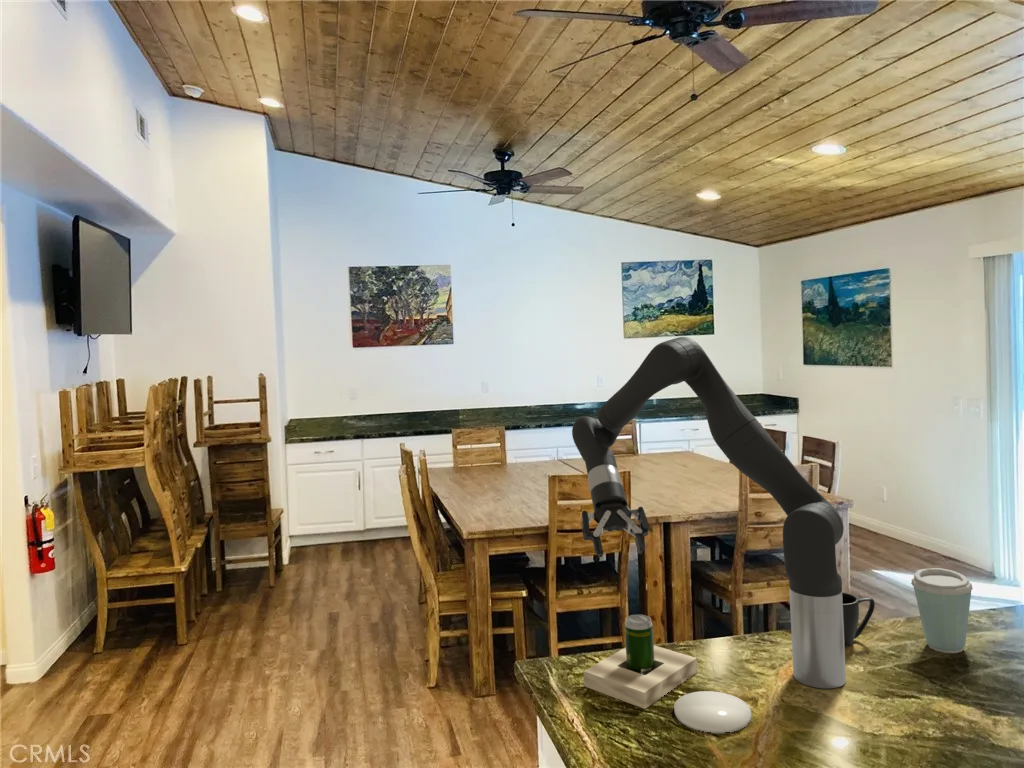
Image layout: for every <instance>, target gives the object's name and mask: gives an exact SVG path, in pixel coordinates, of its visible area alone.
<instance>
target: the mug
mask: <svg viewBox="0 0 1024 768" xmlns="http://www.w3.org/2000/svg"><path fill="white" fill-rule="evenodd" d="M842 599H843V621H844V646H845V647H850V646H853V644H854V640H855V639H857V638H859V636H860V635H861V634H862V632H863V631H864V629H865V628H866V627H867V624H868V622H869V621H870V619H871V617H872V615H873V613H874V610H875V606H876V605H875V600H874V599H873V597H872V598H871V597H869V596H867V597H866V596H863V597H859V598H858V597H857V596H856V595H854V594H851V593H848V592H844V591H842ZM866 601H867V602H868V601H869V606H868V609H867V611H866V614H865V615H864V617H863V620H862V622H861V623H860V624H859V619H860V603H862V602H866ZM858 625H859V626H858Z"/></svg>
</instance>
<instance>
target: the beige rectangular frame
mask: <svg viewBox="0 0 1024 768" xmlns="http://www.w3.org/2000/svg"><path fill="white" fill-rule="evenodd" d="M697 658H698V657H694V656H691V655H688V654H684V653H680V652H678V651H674V650H672V649H667V648H664V647H661V646H657V645H654V661H655V669H654V670H653V671H651V672H650V673H648V674H647V675H643V674H640V673H637V672H634V671H631V670H628V669H627V659H626V646H625V647H624V648H622V649H621V650H618V651H617V652H615V653H614V654H612V655H610V656H608V657H606V658H604V659H603V660H601V661H599V662H597V663H596V664H594V665H592V666H590V667H589V668H587V669H585V670H583V682H584V683H583V684H584V685H583V687H585V688H588V689H590V690H594V691H596V692H599V693H601V694H604V695H606V696H609V697H612V698H615V699H617V700H620V701H623V702H626V703H628V704H630V705H633V706H636V707H638V708H642V709H644V710H646V709H647V708H648V707H650V706H651V705H653V704H655V703H656V702H657V701H659V700H660V699H662V698H663V697H664V695H665V696H667V693H668V692H669V693H670V692H672V691H674V690H675V689H676V688H678V687H679V686H681V685H682V684H684V683H685V682H686V681H688V680H689V679H691V678H692V677H693V675H694V674H695V675H697V674H698V661H697ZM696 673H697V674H696ZM695 675H694V676H695ZM691 676H692V677H691ZM690 677H691V678H690ZM687 679H688V680H687ZM684 681H685V682H684ZM680 684H681V685H680ZM678 685H679V686H678ZM677 686H678V687H677ZM674 688H675V689H674ZM671 690H672V691H671ZM669 693H668V694H669ZM661 697H662V698H661Z"/></svg>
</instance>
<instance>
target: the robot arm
mask: <svg viewBox="0 0 1024 768" xmlns="http://www.w3.org/2000/svg"><path fill="white" fill-rule="evenodd" d="M682 382H685V384H686V385H688V387H689V388H690V389H691V390H692V391H693V393H695V395H696V396H697V397H698V399H699V401H700V402H701V403H702V406H703V408H704V412H705V415H706V419H707V424H708V428H709V431H710V434H711V436H712V439H713V440H714V442H715V444H716V445H717V447H718V448H719V449H720V450H721V451H722V453H723V454H724V455H725V457H726V458H727V459H728V461H730V463H731V464H732V465H733V466H734V467H735V468H736V469H737V470H738V471H740V472H741V473H742V474H743V475H744V476H746V477H747V478H748V479H750V480H751V481H753V482H754V483H756V484H757V485H758V486H760V487H761V488H762V489H764V490H765V491H766V492H767V493H768V494H769V495H771V496H772V498H773V499H774V500H775V501H776V503H778V505H779V506H780V508H781V509H782V510H783V512H784V513H785V514H786V517H785V520H784V522H783V526H782V546H783V549H782V550H783V558H784V559H783V560H784V569H785V574H786V576H787V579H788V586H789V588H788V590H789V611H790V612H789V613H790V628H791V652H792V653H791V654H792V672H793V677H794V679H795V680H796V681H798V682H799V683H801V684H803V685H805V686H808V687H813V688H816V689H817V688H818V689H836V688H840V687H842V686H843V685H845V684H846V681H847V678H846V677H847V675H846V649H845V646H844V621H843V599H842V592H843V581H842V577H841V575H840V574H839V573H838V570H837V569H838V568H837V555H836V554H837V553H836V545H837V544H839V542H840V541H841V539H842V538H843V535H844V531H845V530H844V523H843V518H842V516H841V514H839V512H838V511H837V509H836V508H835V507H834V506H833V505H832V504H831V503H830V502H829V501H828V500H827V499H826V498H825V496H824V495H822V494H821V493H820V492H818V490H817V489H816V488H814V486H813V485H812V484H811V483H810V482H809V481H808V480H807V479H806V478H805V477H804V476H803V475H802V474H801V473H800V472H799V470H798V469H797V468H796V467H795V466H794V464H793V463H792V462H791V460H790V459H789V457H788V456H787V455H786V454H785V453H784V451H783V450H782V449H781V448H780V446H779V445H778V444H777V443H776V442H775V440H774V439H773V438H772V436H771V435H770V434H769V432H768V431H767V430H766V429H765V428H764V427H763V425H762V424H761V423H760V422H759V420H757V418H756V417H755V416H754V415H753V414H752V413H751V411H750V410H749V409H748V408H747V407H746V406H745V404H744V403H743V401H742V400H740V398H739V396H737V395H736V393H735V392H734V390H733V389H732V388H731V387H730V386H729V385H728V383H727V382H726V381H725V380H724V378H723V377H722V375H721V374H720V373H719V371H718V369H717V368H716V366H715V365H714V363H713V362H712V360H711V359H710V357H709V356H708V354H707V353H706V351H705V350H704V349H703V348H702V346H701V345H700V344H699V343H698V342H697V341H696V340H694V339H692V338H691V337H688V336H680V337H675V338H672V339H669V340H665V341H663V342H662V341H661V342H660V343H658V344H656V345H655V346H654V347H653V348H652V349H651V350H650V351H649V353H648V354H647V356H645V358H644V360H643V361H642V363H641V364H640V366H639V367H638V368H637V369H636V370H635V372H634V373H633V375H632V376H631V377H630V378H629V379H628V380H627V382H626V383H625V384H624V385H623V386H621V388H620V389H618V390H617V391H616V392H615V393H614V394H613V395H611V397H609V398H608V399H607V400H606V402H604V403H603V404H602V405H601V406H600V407H599V409H598V411H597V418H595V417H591V416H588V415H583V416H579V417H578V418H577V419H575V421H574V423H573V425H572V430H571V434H572V440H573V443H574V445H575V447H576V449H577V450H578V452H579V454H580V456H581V458H582V460H583V461H584V462H585V463H584V464H585V468H586V473H587V478H588V481H587V482H588V489H589V490H588V491H589V493H590V498H591V503H592V507H593V512H588V511H587V510H582V512H581V518H580V521H581V530H582V538H583V540H585V541H591V542H592V544H593V550H594V554H595V555H598V558H603V557H604V556H603V555H604V548H603V544H602V539H601V536H602V535H603V533H604V531H607V532H613V531H618V532H619V531H621V532H622V531H623V530H624V531H625V532H626V533H627V534H629V535H631V536H632V537H634V542H635V546H636V550H637V554H638V555H642V554H643V552H645V547H646V543H645V540H644V537H646V536H647V537H648V535H649V531H650V528H651V527H650V525H649V522H648V519H647V515H646V512H645V509H644V507H643V506H638V508H637V509H630V507H629V505H628V500H627V497H626V493H625V489H624V485H623V480H622V476H621V475H620V472H619V469H618V465H617V460H616V458H615V454H614V452H613V451H612V450H611V449H610V447H612V446H613V445H614V444H615V442H616V440H617V439H618V437H619V435H620V433H621V431H622V430H623V428H624V427H625V426H626V425H628V424H629V423H630V422H631V421H632V420H633V419H635V418H636V417H637V416H638V415H639V414H640V412H641V411H642V410H643V408H644V406H645V405H646V403H647V402H648V400H649V399H650V398H652V397H653V396H654V395H655V394H657V393H659V392H660V391H662V390H664V389H666V388H669V386H672V385H678V384H681V383H682ZM631 517H634V519H635V520H636V521H638V525H639V526H638V525H637V524H636V523H635V521H634V520H632V519H631ZM592 520H593V521H595V522H596V523H597V526H596V528H595V529H594V530H593V531H591V530H590V523H592Z"/></svg>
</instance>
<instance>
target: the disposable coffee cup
mask: <svg viewBox="0 0 1024 768" xmlns="http://www.w3.org/2000/svg"><path fill="white" fill-rule="evenodd" d="M910 584H911V585H912V587H913V590H914V595H915V600H916V602H917V603H916V604H917V607H918V611H919V615H920V622H921V626H922V629H923V635H924V638H925V642H926V643H927V646H928V647H929V649H931V650H933V651H936V652H938V653H944V654H958V653H962V651H963V650H964V648H965V646H966V641H967V633H968V625H969V615H970V607H971V606H970V604H971V598H972V597H971V596H972V590H973V589H974V588H973V584H972V582H971V581H970V580H969V579H968V578H967V577H966V576H965V575H964V574H962V573H959V572H957V571H955V570H951V569H946V568H942V567H933V568H932V567H929V568H922V569H917V570H916V572H915V573H914V574H913V577H912V579H911V583H910Z"/></svg>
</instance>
